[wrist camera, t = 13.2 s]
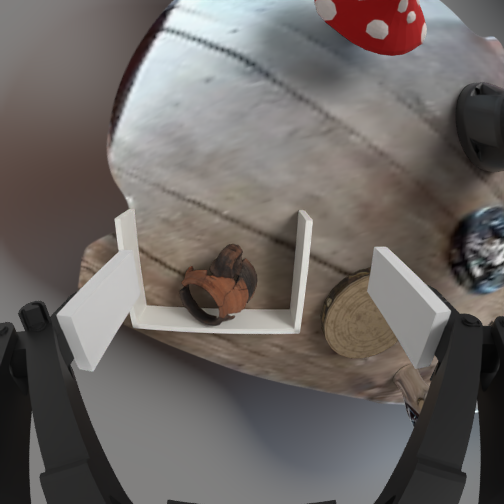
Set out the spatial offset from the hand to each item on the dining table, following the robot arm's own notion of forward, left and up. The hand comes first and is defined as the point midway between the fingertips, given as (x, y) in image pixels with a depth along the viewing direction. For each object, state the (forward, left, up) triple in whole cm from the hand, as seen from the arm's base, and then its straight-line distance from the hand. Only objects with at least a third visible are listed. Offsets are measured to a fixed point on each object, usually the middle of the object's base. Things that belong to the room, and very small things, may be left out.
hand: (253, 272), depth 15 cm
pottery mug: (+3, +11, -24) cm, 26 cm away
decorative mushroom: (-14, -25, -23) cm, 37 cm away
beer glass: (-34, +35, -23) cm, 54 cm away
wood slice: (-20, +18, -24) cm, 36 cm away
